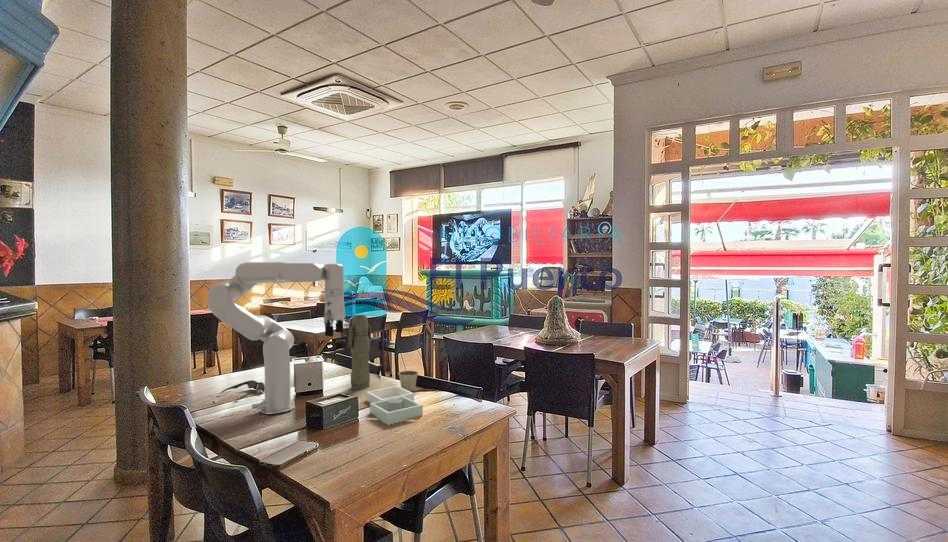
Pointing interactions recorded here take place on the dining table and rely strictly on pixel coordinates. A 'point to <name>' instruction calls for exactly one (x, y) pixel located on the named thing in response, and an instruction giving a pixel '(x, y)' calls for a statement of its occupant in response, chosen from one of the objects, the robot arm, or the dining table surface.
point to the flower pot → (408, 380)
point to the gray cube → (395, 404)
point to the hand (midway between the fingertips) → (334, 334)
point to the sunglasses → (250, 385)
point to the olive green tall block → (360, 351)
